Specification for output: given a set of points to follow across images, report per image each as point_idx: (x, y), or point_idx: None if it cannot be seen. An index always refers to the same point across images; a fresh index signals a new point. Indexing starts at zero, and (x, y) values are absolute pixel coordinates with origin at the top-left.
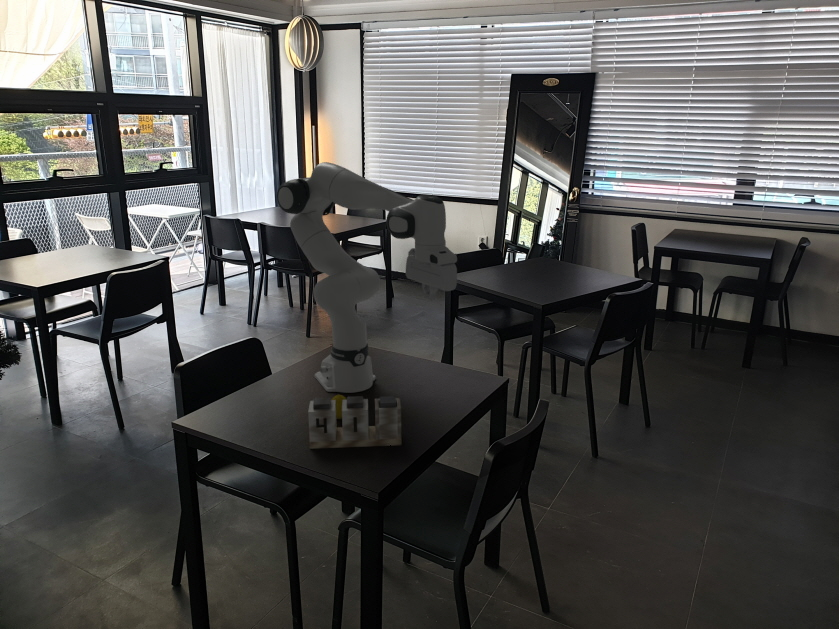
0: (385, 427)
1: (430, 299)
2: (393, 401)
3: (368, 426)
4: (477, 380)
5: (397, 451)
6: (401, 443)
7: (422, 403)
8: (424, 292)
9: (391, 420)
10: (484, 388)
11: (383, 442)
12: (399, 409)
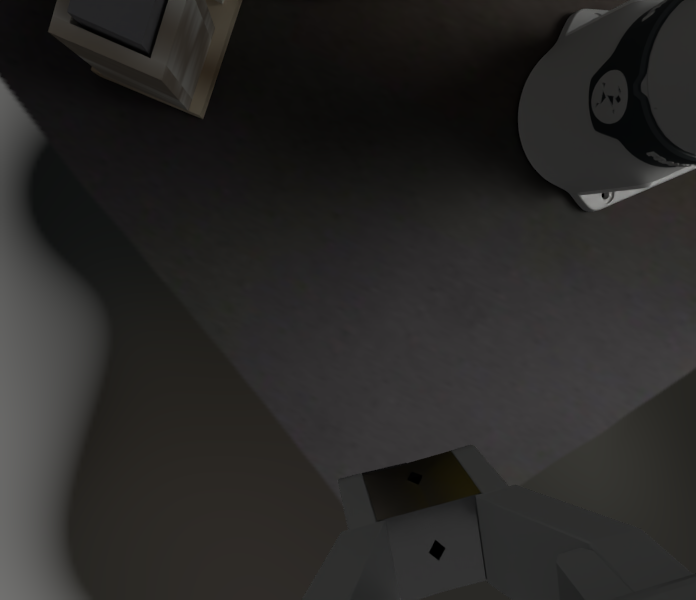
0: None
1: (340, 482)
2: (84, 7)
3: (233, 9)
4: None
5: (60, 43)
6: (95, 73)
7: (349, 271)
8: (510, 488)
9: None
10: None
11: None
12: (51, 26)
